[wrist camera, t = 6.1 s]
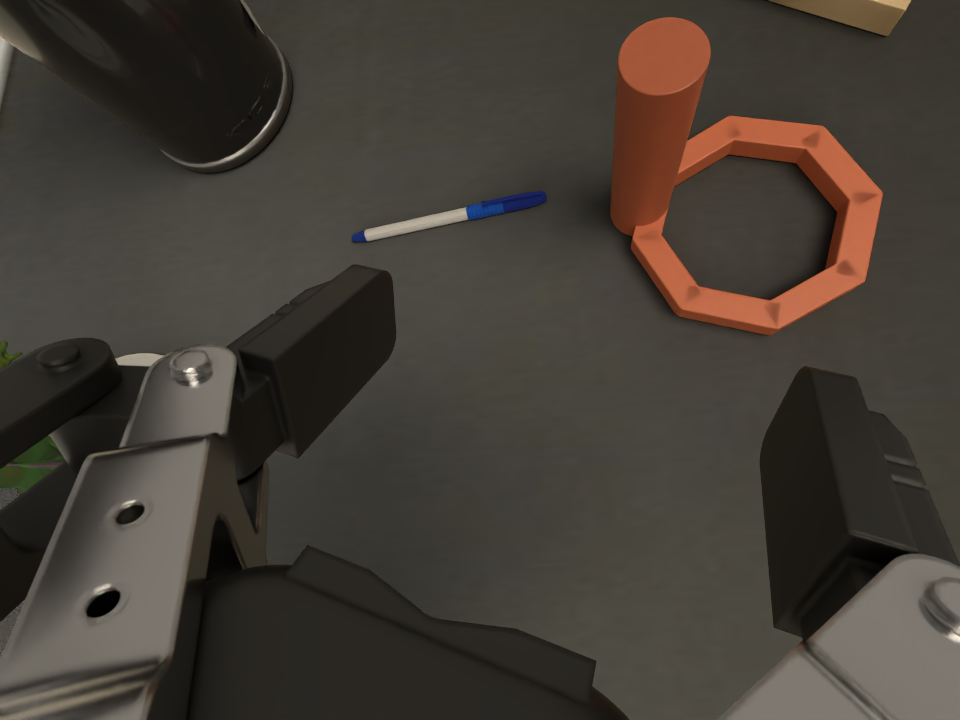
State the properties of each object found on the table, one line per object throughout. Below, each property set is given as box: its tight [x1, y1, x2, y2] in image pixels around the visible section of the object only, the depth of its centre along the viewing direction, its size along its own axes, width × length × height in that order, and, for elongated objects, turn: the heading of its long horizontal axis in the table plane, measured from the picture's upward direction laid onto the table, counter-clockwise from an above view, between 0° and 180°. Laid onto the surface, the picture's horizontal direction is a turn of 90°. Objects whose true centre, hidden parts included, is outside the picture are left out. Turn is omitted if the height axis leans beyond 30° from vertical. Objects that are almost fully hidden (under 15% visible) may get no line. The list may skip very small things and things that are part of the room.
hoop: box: [610, 17, 883, 335], centre depth 19 cm, size 11×9×10 cm
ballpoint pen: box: [352, 191, 547, 242], centre depth 27 cm, size 10×1×1 cm, turn 98°
